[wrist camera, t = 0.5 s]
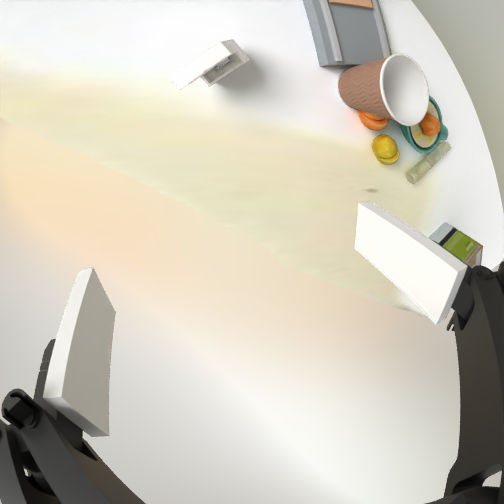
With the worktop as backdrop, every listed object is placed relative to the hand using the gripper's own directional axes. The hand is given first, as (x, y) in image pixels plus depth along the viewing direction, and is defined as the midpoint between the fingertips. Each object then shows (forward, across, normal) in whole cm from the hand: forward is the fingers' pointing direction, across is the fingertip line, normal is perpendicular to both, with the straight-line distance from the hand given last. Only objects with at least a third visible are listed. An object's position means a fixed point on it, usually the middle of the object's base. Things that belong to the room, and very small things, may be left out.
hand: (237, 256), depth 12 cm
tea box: (+28, +60, -32) cm, 74 cm away
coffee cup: (+27, +27, +8) cm, 39 cm away
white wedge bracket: (+28, +4, +11) cm, 30 cm away
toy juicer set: (+28, +39, 0) cm, 48 cm away
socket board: (+28, +27, +24) cm, 45 cm away
